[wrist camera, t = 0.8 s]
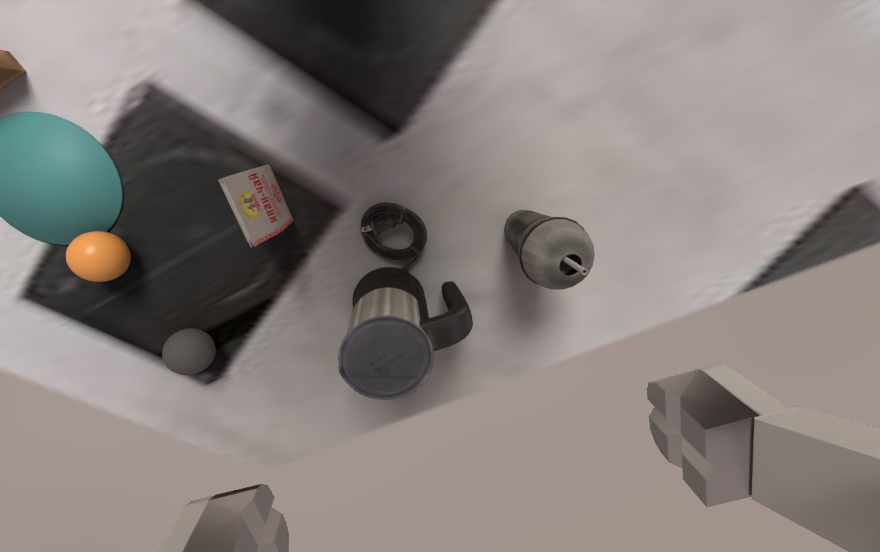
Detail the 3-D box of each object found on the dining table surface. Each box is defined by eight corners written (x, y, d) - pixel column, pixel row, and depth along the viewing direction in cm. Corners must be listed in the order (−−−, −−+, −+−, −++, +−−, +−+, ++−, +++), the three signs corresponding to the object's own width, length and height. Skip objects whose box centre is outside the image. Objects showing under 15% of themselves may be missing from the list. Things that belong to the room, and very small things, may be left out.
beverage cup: (517, 267, 55) (582, 339, 36) (481, 226, 52) (531, 281, 34) (561, 229, 54) (652, 283, 35) (526, 186, 51) (604, 219, 33)
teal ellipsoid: (-56, 158, 44) (-59, 158, 44) (49, 84, 43) (48, 84, 43) (53, 266, 49) (52, 267, 48) (151, 203, 47) (150, 203, 47)
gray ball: (166, 335, 53) (141, 357, 47) (202, 312, 52) (181, 333, 47) (197, 367, 54) (176, 392, 49) (232, 346, 54) (215, 369, 49)
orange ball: (77, 242, 48) (39, 256, 43) (115, 217, 48) (82, 228, 42) (114, 280, 50) (82, 298, 45) (151, 256, 49) (123, 272, 44)
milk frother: (379, 345, 56) (375, 417, 42) (302, 252, 51) (269, 298, 37) (469, 287, 55) (495, 341, 41) (399, 185, 50) (402, 207, 36)
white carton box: (263, 229, 50) (234, 253, 40) (238, 173, 47) (200, 184, 38) (293, 220, 50) (271, 241, 40) (269, 163, 47) (239, 172, 38)
